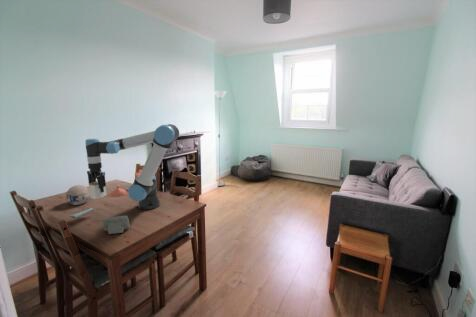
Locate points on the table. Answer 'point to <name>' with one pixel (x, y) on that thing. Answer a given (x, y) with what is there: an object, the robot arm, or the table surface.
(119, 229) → the digital clock
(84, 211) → the strip
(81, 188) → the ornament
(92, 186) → the cream block
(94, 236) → the table surface
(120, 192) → the ceramic vessels
